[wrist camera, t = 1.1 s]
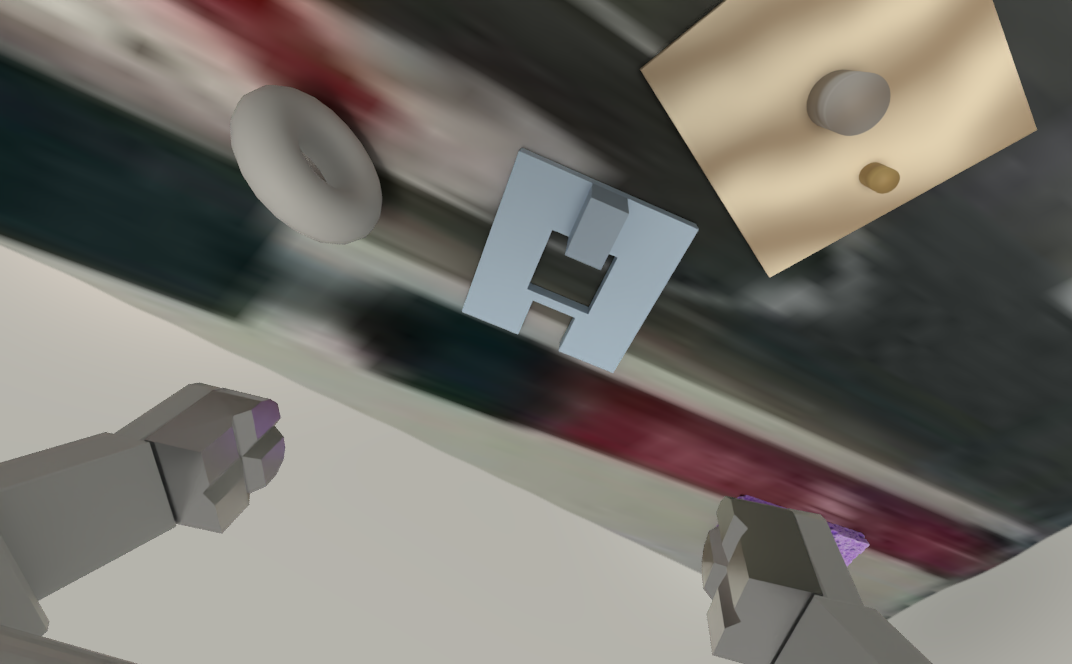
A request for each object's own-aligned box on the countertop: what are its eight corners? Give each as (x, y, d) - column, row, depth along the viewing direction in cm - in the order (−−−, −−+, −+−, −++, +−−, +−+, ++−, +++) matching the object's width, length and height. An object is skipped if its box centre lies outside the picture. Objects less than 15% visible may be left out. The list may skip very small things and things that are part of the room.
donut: (285, 96, 34) (174, 115, 25) (322, 68, 32) (218, 77, 24) (376, 224, 37) (306, 278, 29) (411, 203, 36) (349, 253, 28)
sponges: (820, 570, 51) (827, 587, 49) (704, 533, 50) (708, 549, 49) (863, 528, 47) (872, 545, 45) (739, 488, 47) (744, 504, 45)
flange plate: (521, 147, 33) (509, 161, 29) (696, 223, 34) (707, 247, 30) (465, 304, 40) (449, 334, 36) (612, 364, 41) (613, 399, 37)
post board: (639, 68, 30) (643, 72, 26) (916, -158, 24) (975, -196, 20) (763, 269, 35) (782, 296, 31) (1018, 126, 29) (1080, 138, 25)
